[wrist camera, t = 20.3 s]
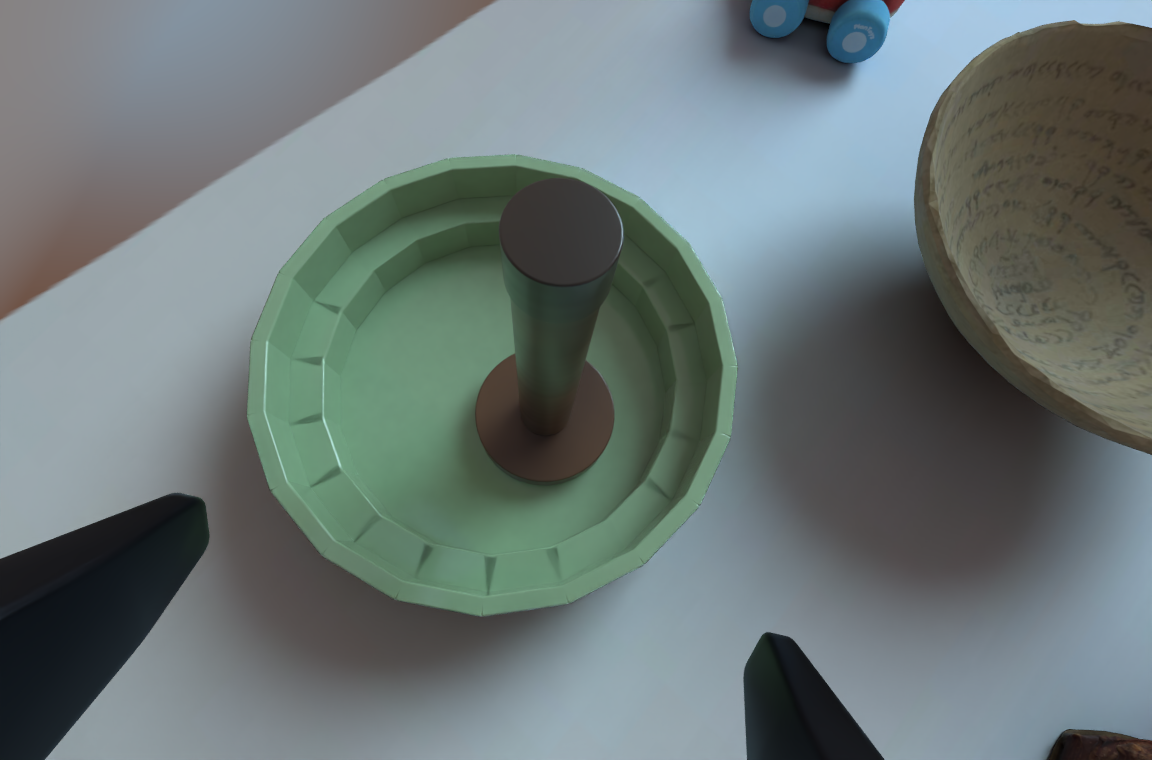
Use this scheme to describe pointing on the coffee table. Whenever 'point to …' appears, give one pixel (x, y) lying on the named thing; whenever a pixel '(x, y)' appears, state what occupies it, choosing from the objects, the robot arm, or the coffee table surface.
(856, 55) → the toy car
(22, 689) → the robot arm
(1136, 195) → the bowl
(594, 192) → the paper towel holder
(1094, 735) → the pastry
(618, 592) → the coffee table surface
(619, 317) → the green round dish
